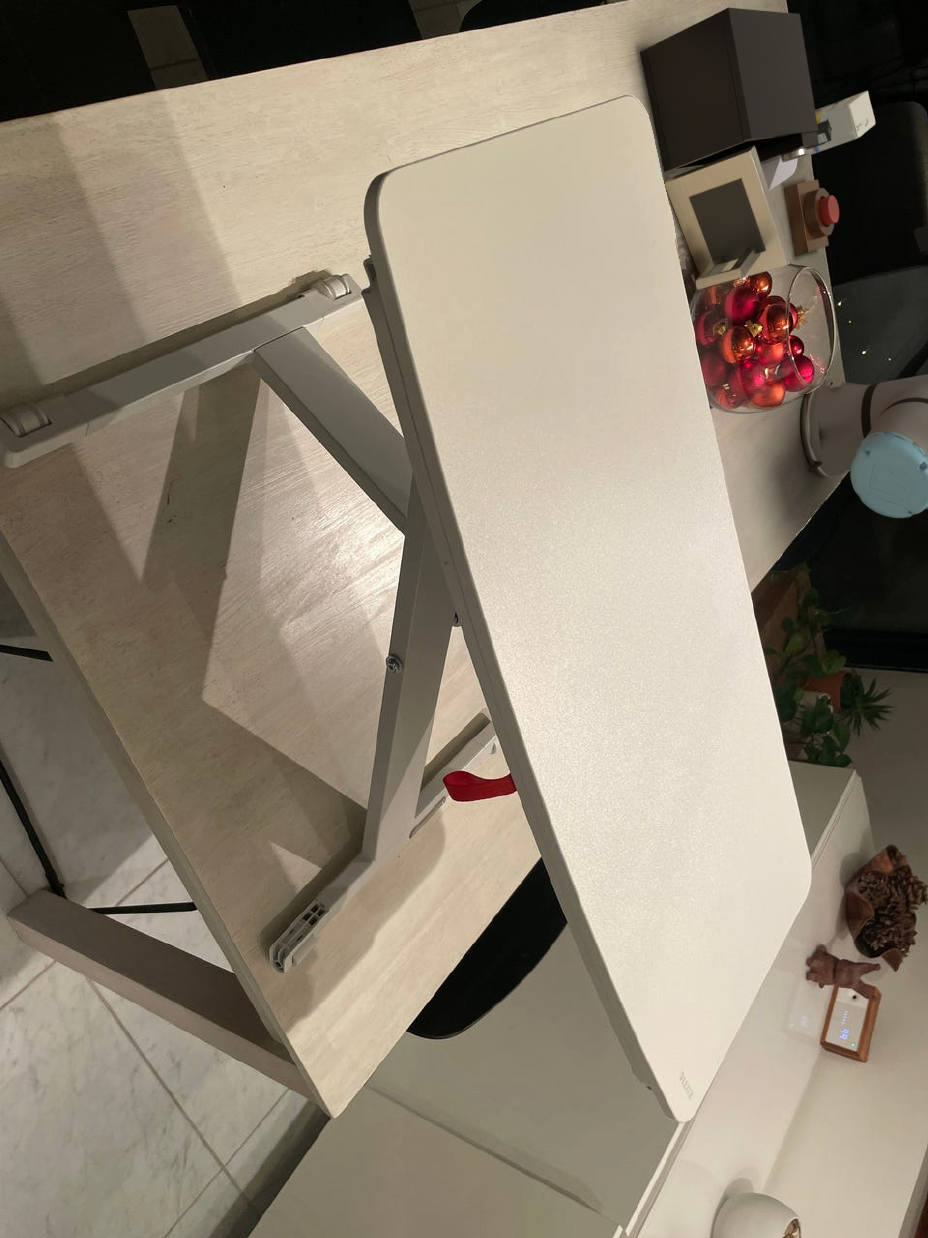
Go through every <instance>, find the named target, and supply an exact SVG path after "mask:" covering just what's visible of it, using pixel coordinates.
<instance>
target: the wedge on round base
mask: <svg viewBox="0 0 928 1238" xmlns="http://www.w3.org/2000/svg"><path fill="white" fill-rule="evenodd" d="M798 160H799V159H798V158H796V159H793V160H790V161H786V162H782V159H781V158H780V159H777V160H774V161H771V162H769V163H766V164H763V165H761V167H762V170H763V173H764V176H765V179H766V182H767V185H768V188H769V191H770V192H771V190H773V189H774V188H776V187H777V186H778V185H780V184H781V183H783V182H784V181H786V180H788V179H789V178H790V177H792V176H793V175H794V173H795V171H796V170H797V165H798Z"/></svg>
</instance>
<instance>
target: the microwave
mask: <svg viewBox="0 0 928 1238" xmlns="http://www.w3.org/2000/svg"><path fill="white" fill-rule="evenodd" d="M639 57H640V62H641V67H642V70H643V76H644V81H645V86H646V90H647V95H648V101H649V106H650V110H651V116H652V120H653V125H654V129H655V135H656V140H657V144H658V150H659V154H660V158H661V159H660V160H661V165H662V168H663V173H669V172H677V171H682V170H691V169H695V168H697V167H700V166H703V165H705V164H708V163H710V162H713V161H716V160H718V159H721V158H724V157H726V156H729V155H731V154H734V153H737V152H739V151H742V150H745V149H747V148H750V147H753V146H755V149H756V152H757V155H758V158H759V161H760V164H761V165H763V164H766V163H769V162H771V161H774V160H777V159H780V158H781V159H782V162H786V161H790V160H793V159H796V158H799V157H802V156H804V155H806V154H807V148H810V147H813V146H815V145H818V144H819V142H818V135H817V132H816V131H818V125H817V119H816V113H815V110H816V108H815V101H814V96H813V89H812V82H811V76H810V70H809V69H810V68H809V63H808V57H807V51H806V45H805V37H804V33H803V26H802V21H801V14H800V13H793V12H781V11H770V10H761V9H760V10H759V9H749V8H740V7H726V8H725V9H722V10H721V11H719V12H717V13H714V14H712V15H711V16H709V17H707V18H704V19H702V20H700V21H698V22H696V23H695V24H693V25H690V26H689V27H686V28H684V29H682V30H680V31H678V32H677V33H675V34H672V35H670V36H668V37H666V38H664V39H662V40H661V41H658V42H657V43H654V44H652V45H650V46H648V47H646V48H643V50H640V51H639Z"/></svg>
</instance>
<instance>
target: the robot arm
mask: <svg viewBox="0 0 928 1238" xmlns="http://www.w3.org/2000/svg"><path fill="white" fill-rule="evenodd" d="M913 235H914V238H915V241H916V243H917V246H918V250H919V252H920V253H924V252H928V225H925V226H921V227H918V228H915V229H914V231H913ZM845 379H846V377H842V378H837V379H835V380H824V381H825V382H824V383H823V384H822V385H821V386H820V387H819V388H817V389H816V390H814V391H812V392H810V393H808V394H806V393H805V396H804V398H803V403H802V407H801V417H800V419H801V423H800V424H801V436H802V438H801V439H802V443H803V448H804V449H803V450H804V452H805V455H806V458H807V461H808V464H809V465H810V467H809V468H807V471H809V473H813V472H814V473H815V474H816V475H817V476H818V477H821V478H825V479H826V478H834V477H837V476H841V475H843V474H845V473H847V472H848V471H850V481H851V482H850V483H851V485H852V488H853V490H854V493H856V494H857V496H858V497H859V499H860V501H861V502H862V503H863V505H865V506H866V507H868V508H869V509H870V510H872V511H874V512H875V513H877V514H879V515H882V516H884V517H889V518H894V519H904V518H905V519H906V518H910V517H912V516H914V515H918V514H920V513H922V512H923V511H924V510H928V373H927V374H921V375H916V376H910V377H905V378H899V379H894V380H893V379H892V380H889V381H883V382H878V383H872V384H860V383H852V382H846V381H845Z"/></svg>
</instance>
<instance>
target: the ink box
mask: <svg viewBox="0 0 928 1238" xmlns="http://www.w3.org/2000/svg"><path fill="white" fill-rule="evenodd" d="M815 113H816V119H817V125H818V131H816V132H817V135H818V142H819V144H818V145H815V146H813V147H810V148H807V154H806V155H804V156H802V157H799V158H798V160H801V159H803V158H806V157H808V156H811V155H815V154H817V153H820V152H823V151H826V150H828V149H831V148H834V147H837V146H840V145H843V144H845V143H849V142H851V141H854V140H857V139H859V138H861V137H862V136H863V135H864V134H865V133H867V132H868V131H869V130H871V128H873V127H874V126H875V125H876V119H875V115H874V110H873V107H872V103H871V99H870V94H869V91H868V90H866V91H863V92H860V93H858V94H855V95H851V96H849V97H847V98H844V99H842V100H839V101H836V102H834V103H831V104H828V105H825V106H824V107H820V108H817V109H815Z"/></svg>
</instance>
